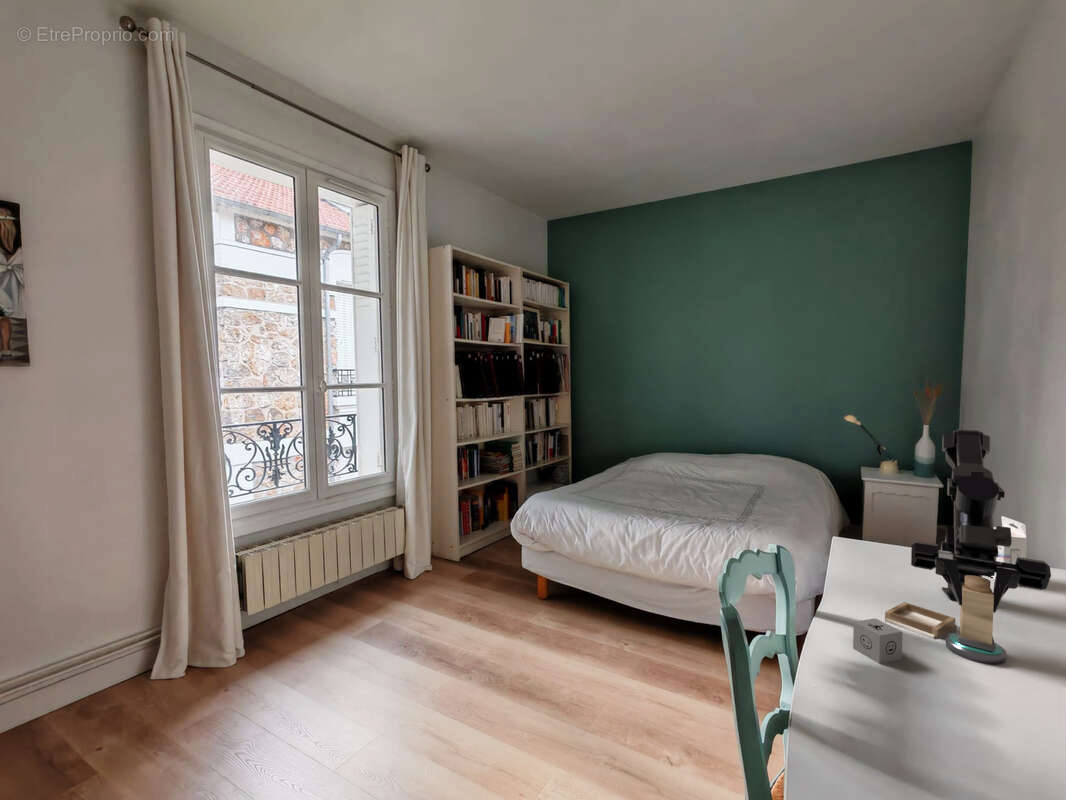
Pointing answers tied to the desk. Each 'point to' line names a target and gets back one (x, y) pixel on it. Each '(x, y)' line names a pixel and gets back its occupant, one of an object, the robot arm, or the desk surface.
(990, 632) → the stamp
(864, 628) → the dice cube
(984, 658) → the pad
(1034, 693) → the desk surface
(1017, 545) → the ink cartridge box
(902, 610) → the frame
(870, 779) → the desk surface
